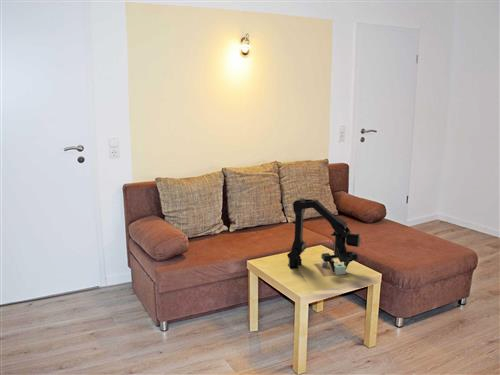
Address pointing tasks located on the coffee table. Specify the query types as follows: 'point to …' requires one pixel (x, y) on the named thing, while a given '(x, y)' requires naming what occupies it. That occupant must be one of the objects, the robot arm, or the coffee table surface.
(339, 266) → the pale green knobbed block
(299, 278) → the coffee table surface
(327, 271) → the board
